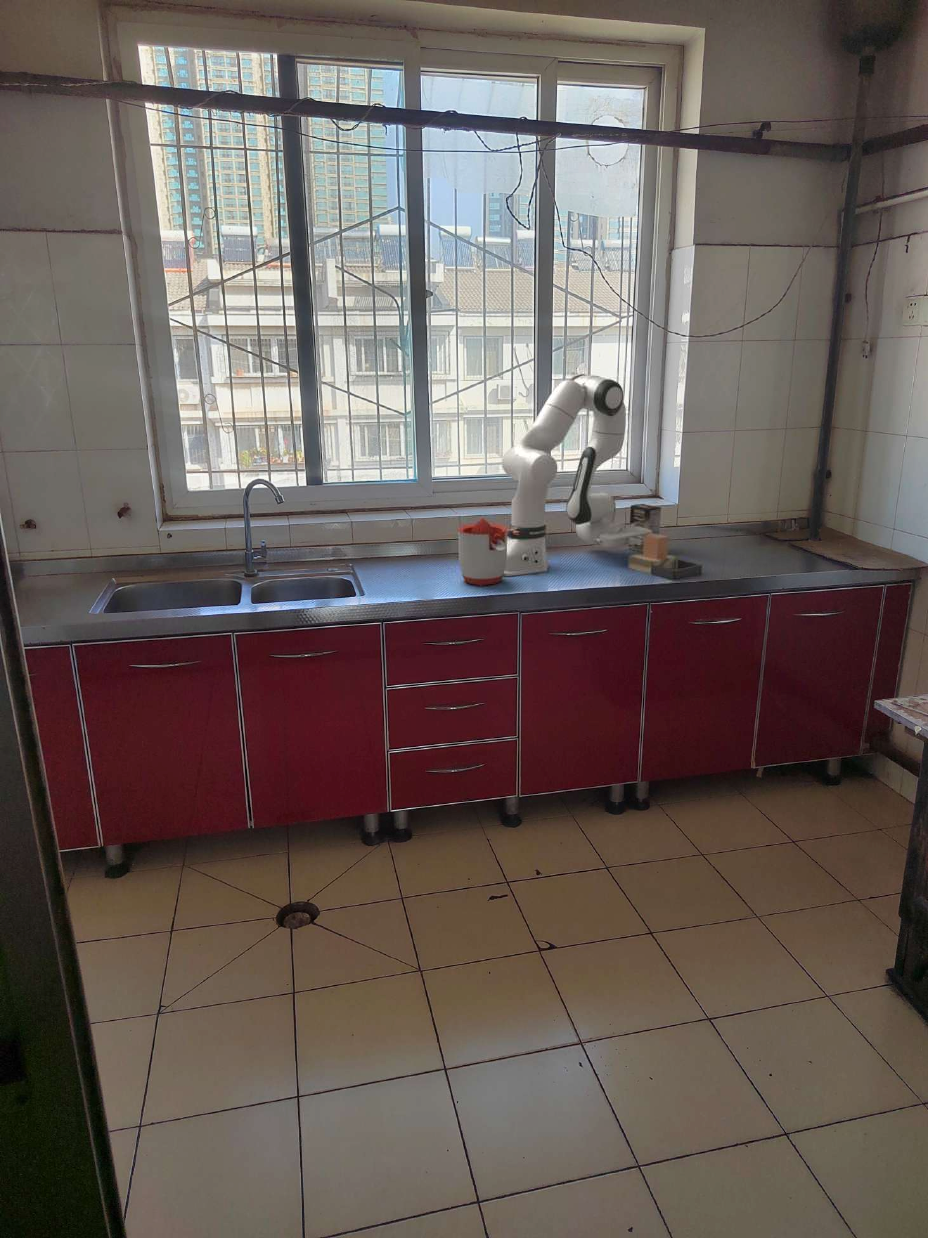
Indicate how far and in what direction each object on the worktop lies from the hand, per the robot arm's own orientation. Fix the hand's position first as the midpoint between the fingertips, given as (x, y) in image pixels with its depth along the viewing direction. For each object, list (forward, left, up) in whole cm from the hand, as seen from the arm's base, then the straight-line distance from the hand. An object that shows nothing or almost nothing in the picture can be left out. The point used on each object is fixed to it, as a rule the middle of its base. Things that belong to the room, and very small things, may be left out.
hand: (643, 542), depth 269 cm
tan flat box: (0, -4, -8) cm, 9 cm away
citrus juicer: (-54, +16, -8) cm, 57 cm away
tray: (0, -14, -8) cm, 17 cm away
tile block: (0, -5, -4) cm, 7 cm away
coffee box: (+17, +16, -8) cm, 24 cm away
